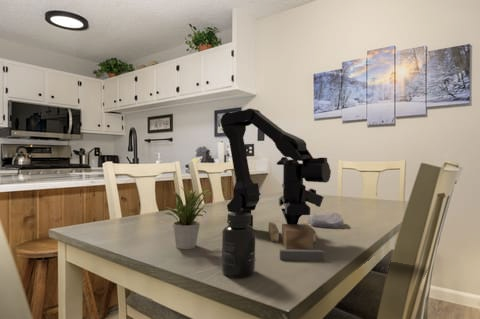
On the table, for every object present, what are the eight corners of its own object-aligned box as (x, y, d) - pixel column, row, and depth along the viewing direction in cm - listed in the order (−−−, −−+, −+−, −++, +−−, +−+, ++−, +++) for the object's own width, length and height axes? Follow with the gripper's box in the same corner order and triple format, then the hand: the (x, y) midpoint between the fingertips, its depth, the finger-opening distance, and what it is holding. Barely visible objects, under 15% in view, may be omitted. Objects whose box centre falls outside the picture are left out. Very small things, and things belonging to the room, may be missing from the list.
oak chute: (271, 241, 86) (271, 230, 86) (268, 231, 98) (268, 222, 98) (315, 242, 85) (315, 231, 85) (307, 232, 97) (307, 222, 97)
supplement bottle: (259, 276, 60) (260, 216, 60) (226, 280, 58) (227, 217, 58) (248, 265, 66) (249, 210, 66) (218, 268, 64) (219, 211, 64)
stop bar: (280, 259, 70) (280, 251, 70) (279, 257, 71) (279, 249, 71) (323, 260, 70) (323, 251, 70) (321, 258, 71) (321, 249, 71)
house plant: (225, 241, 85) (226, 183, 85) (206, 256, 71) (206, 188, 71) (179, 237, 89) (180, 182, 89) (153, 251, 76) (154, 185, 76)
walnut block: (285, 249, 78) (286, 230, 78) (281, 241, 86) (282, 224, 86) (313, 250, 78) (313, 230, 78) (306, 241, 86) (306, 224, 86)
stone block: (346, 234, 104) (339, 222, 113) (346, 220, 103) (339, 210, 112) (311, 234, 105) (307, 222, 115) (311, 221, 104) (307, 210, 114)
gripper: (330, 183, 78) (329, 243, 78) (313, 178, 97) (313, 227, 97) (287, 183, 78) (286, 243, 78) (278, 178, 97) (278, 227, 97)
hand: (292, 234), depth 88 cm, fingers closed
